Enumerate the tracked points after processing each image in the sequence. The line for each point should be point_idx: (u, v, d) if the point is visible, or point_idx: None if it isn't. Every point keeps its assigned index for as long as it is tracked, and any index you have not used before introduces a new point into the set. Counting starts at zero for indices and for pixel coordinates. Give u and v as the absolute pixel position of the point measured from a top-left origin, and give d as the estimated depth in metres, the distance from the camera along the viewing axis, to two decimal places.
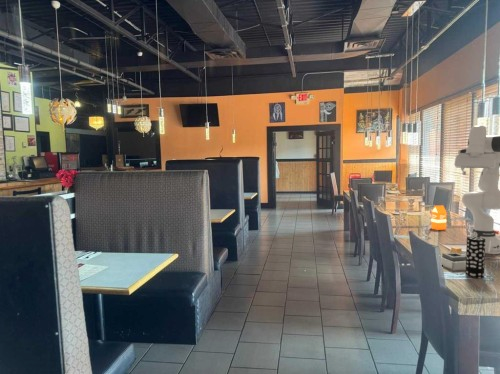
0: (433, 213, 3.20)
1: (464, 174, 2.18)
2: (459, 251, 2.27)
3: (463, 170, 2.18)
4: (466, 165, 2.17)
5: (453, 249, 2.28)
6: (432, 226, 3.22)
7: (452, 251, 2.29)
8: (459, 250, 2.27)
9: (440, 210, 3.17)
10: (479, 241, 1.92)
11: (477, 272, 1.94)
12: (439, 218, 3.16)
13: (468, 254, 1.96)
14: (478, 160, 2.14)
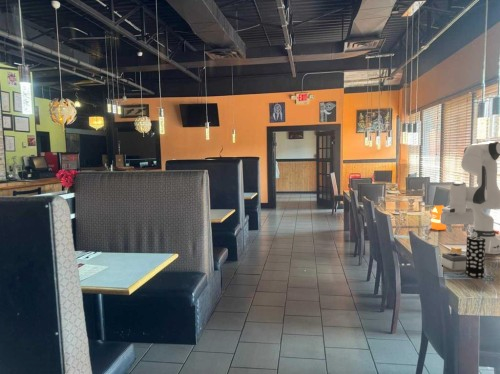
0: (433, 213, 3.20)
1: (450, 231, 2.27)
2: (459, 251, 2.27)
3: (450, 228, 2.26)
4: (453, 223, 2.25)
5: (453, 249, 2.28)
6: (432, 226, 3.22)
7: (452, 251, 2.29)
8: (459, 250, 2.27)
9: (440, 210, 3.17)
10: (479, 241, 1.92)
11: (477, 272, 1.94)
12: (439, 218, 3.16)
13: (468, 254, 1.96)
14: (462, 218, 2.26)
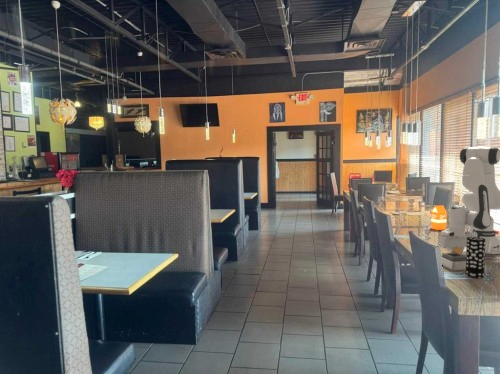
0: (433, 213, 3.20)
1: None
2: (459, 251, 2.27)
3: (452, 251, 2.27)
4: (452, 247, 2.26)
5: (453, 249, 2.28)
6: (432, 226, 3.22)
7: None
8: (459, 250, 2.27)
9: (440, 210, 3.17)
10: (479, 241, 1.92)
11: (477, 272, 1.94)
12: (439, 218, 3.16)
13: (468, 254, 1.96)
14: (461, 241, 2.27)
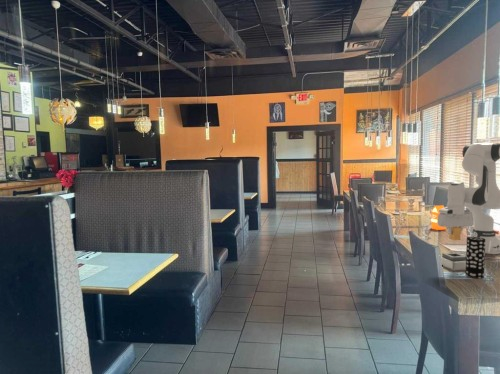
0: (433, 213, 3.20)
1: (451, 234, 2.14)
2: (458, 230, 2.12)
3: None
4: (451, 225, 2.12)
5: (452, 228, 2.14)
6: (432, 226, 3.22)
7: None
8: (458, 229, 2.12)
9: None
10: (479, 241, 1.92)
11: (477, 272, 1.94)
12: None
13: (468, 254, 1.96)
14: (460, 220, 2.13)
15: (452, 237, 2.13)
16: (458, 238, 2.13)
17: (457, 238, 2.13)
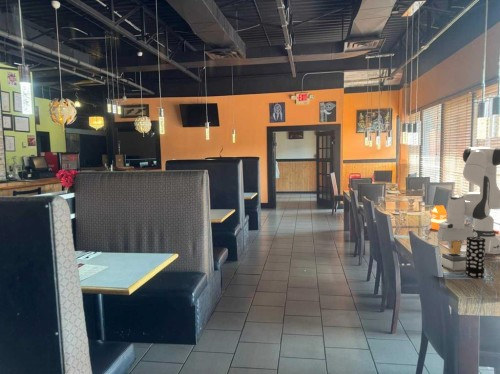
0: (433, 213, 3.20)
1: None
2: (458, 244, 2.12)
3: None
4: (451, 239, 2.11)
5: (452, 242, 2.13)
6: (432, 226, 3.22)
7: (451, 244, 2.14)
8: (458, 243, 2.12)
9: (440, 210, 3.17)
10: (479, 241, 1.92)
11: (477, 272, 1.94)
12: (439, 218, 3.16)
13: (468, 254, 1.96)
14: (460, 234, 2.12)
15: (452, 251, 2.13)
16: (458, 252, 2.12)
17: (457, 252, 2.12)
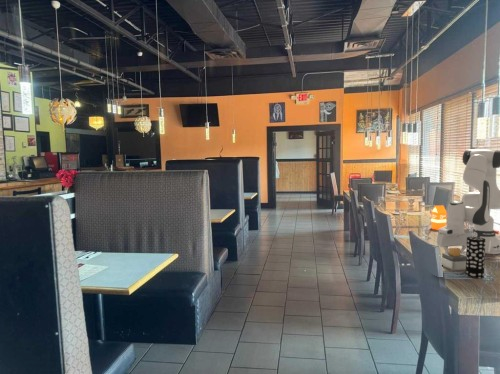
0: (433, 213, 3.20)
1: None
2: (458, 251, 2.12)
3: (447, 250, 2.12)
4: (451, 245, 2.12)
5: (451, 249, 2.14)
6: (432, 226, 3.22)
7: (450, 251, 2.14)
8: (458, 250, 2.12)
9: (440, 210, 3.17)
10: (479, 241, 1.92)
11: (477, 272, 1.94)
12: (439, 218, 3.16)
13: (468, 254, 1.96)
14: (460, 239, 2.12)
15: None
16: None
17: None
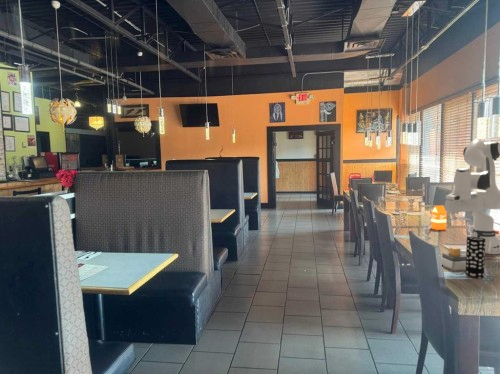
0: (433, 213, 3.20)
1: (455, 219, 2.20)
2: (458, 251, 2.12)
3: None
4: (458, 211, 2.19)
5: (451, 249, 2.14)
6: (432, 226, 3.22)
7: (450, 251, 2.14)
8: (458, 250, 2.12)
9: (440, 210, 3.17)
10: (479, 241, 1.92)
11: (477, 272, 1.94)
12: (439, 218, 3.16)
13: (468, 254, 1.96)
14: (467, 205, 2.19)
15: None
16: None
17: None
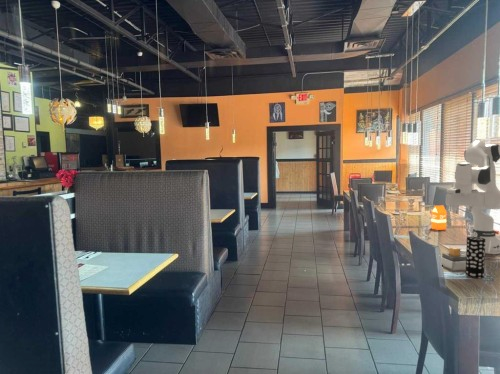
0: (433, 213, 3.20)
1: None
2: (458, 251, 2.12)
3: (455, 209, 2.21)
4: (458, 204, 2.20)
5: (451, 249, 2.14)
6: (432, 226, 3.22)
7: (450, 251, 2.14)
8: (458, 250, 2.12)
9: (440, 210, 3.17)
10: (479, 241, 1.92)
11: (477, 272, 1.94)
12: (439, 218, 3.16)
13: (468, 254, 1.96)
14: (467, 199, 2.21)
15: None
16: None
17: None
